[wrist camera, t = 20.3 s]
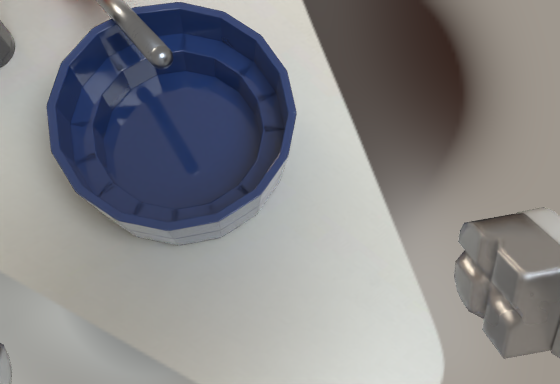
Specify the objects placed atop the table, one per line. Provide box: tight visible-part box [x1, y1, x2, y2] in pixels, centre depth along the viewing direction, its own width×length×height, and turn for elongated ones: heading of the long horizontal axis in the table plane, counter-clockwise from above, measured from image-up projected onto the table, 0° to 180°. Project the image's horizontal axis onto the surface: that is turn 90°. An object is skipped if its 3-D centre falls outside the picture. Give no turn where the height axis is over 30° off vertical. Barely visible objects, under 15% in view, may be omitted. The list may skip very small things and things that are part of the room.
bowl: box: [47, 2, 296, 245], centre depth 31 cm, size 14×14×6 cm
